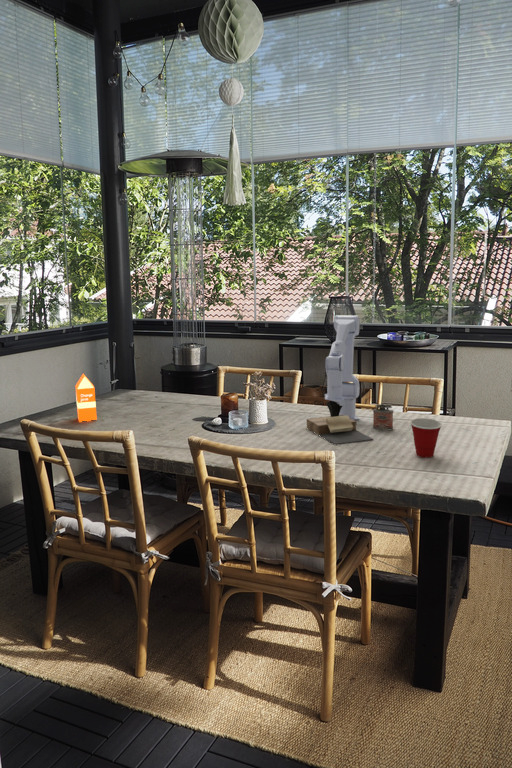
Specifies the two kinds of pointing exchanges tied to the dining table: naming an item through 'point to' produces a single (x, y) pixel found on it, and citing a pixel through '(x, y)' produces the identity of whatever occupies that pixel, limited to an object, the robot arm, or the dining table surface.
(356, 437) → the rubber mat
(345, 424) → the birch tile
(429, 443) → the plastic cup
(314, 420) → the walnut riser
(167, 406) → the dining table surface
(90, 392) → the orange juice
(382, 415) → the lighter
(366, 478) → the dining table surface
